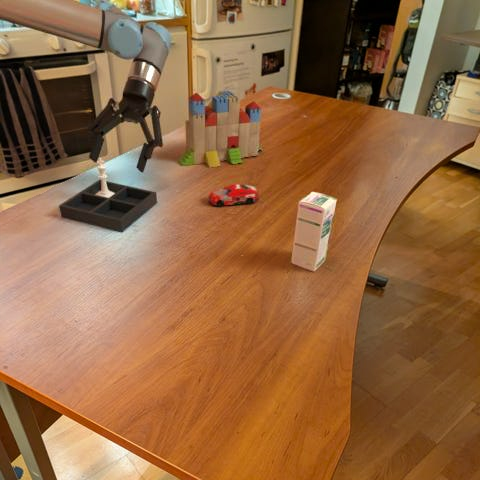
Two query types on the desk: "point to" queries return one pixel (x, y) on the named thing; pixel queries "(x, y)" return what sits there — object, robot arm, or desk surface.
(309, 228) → the syrup box
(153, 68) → the robot arm
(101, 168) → the chess piece
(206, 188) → the desk surface
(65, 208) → the grid
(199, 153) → the block set
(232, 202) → the race car
